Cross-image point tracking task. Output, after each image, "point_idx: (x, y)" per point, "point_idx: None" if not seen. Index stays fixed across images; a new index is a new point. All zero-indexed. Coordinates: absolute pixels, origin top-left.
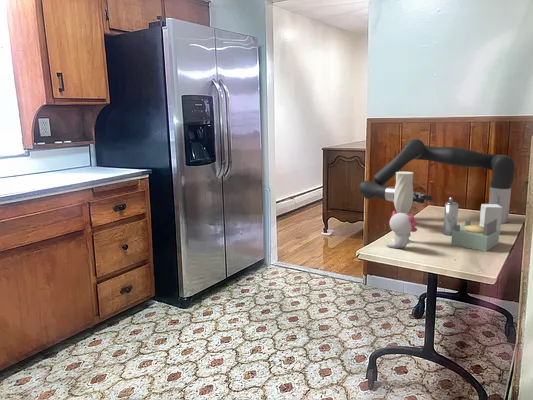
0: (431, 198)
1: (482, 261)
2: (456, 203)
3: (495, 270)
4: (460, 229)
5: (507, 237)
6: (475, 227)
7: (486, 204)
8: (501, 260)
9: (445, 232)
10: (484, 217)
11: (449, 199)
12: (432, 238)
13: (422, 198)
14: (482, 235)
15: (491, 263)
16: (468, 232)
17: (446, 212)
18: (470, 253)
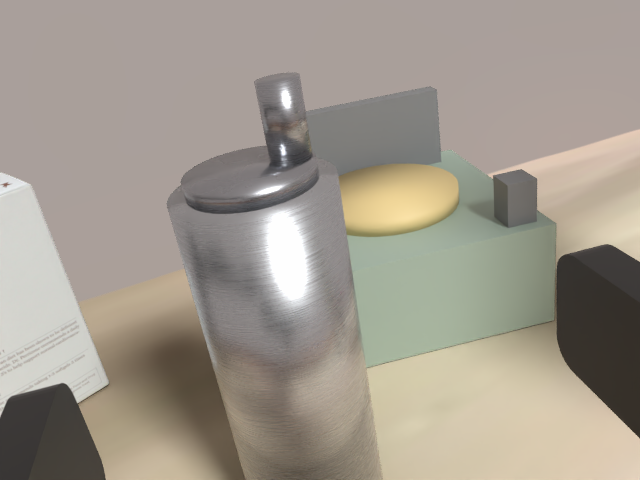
0: (83, 442)
1: (584, 176)
2: (246, 149)
3: (606, 140)
4: (465, 227)
5: (108, 305)
6: (375, 194)
7: None
8: (493, 173)
9: (379, 469)
10: (60, 272)
11: (303, 101)
12: (608, 463)
13: (615, 261)
14: (449, 161)
15: (564, 165)
16: (474, 191)
17: (352, 275)
18: (558, 224)
